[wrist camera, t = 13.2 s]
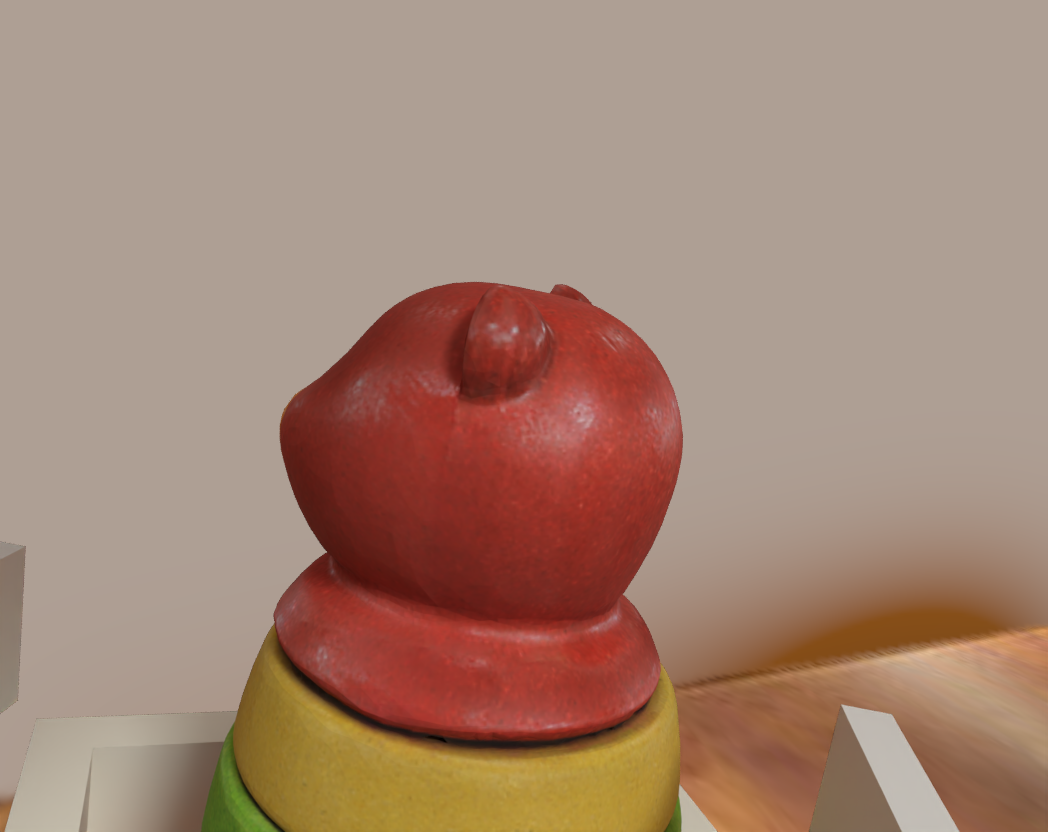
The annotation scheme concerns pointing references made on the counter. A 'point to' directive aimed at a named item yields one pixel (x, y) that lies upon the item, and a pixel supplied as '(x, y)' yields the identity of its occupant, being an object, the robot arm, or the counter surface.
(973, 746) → the counter surface
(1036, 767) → the counter surface
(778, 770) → the counter surface
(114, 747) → the collar
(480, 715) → the stacking bear
